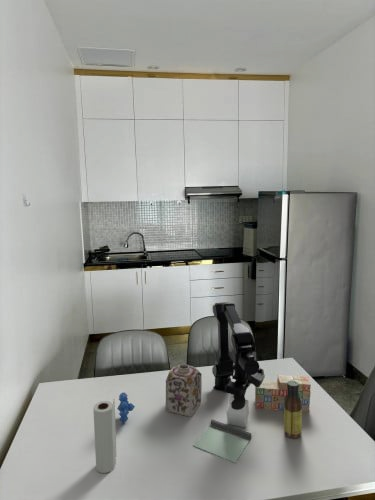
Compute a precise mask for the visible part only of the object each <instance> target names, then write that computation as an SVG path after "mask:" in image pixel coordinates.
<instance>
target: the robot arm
mask: <svg viewBox="0 0 375 500" xmlns="http://www.w3.org/2000/svg"><path fill="white" fill-rule="evenodd" d="M212 314H213V317H214V318H215V320H216V321H217V339H218V340H217V342H218V344H217V345H218V346H217V347H218V350H217V351H218V354H217V356H216V357H215V359H214V360H215V361H214V365H213V366H212V369H211V370H212V375H213V376H214V386H213V389H214V390H217V391H221V392H224V393H226V394H229V395H230V394H233V395H236V396H241V395H242V394H243V395H244V396H245V395H246V393H247V389H249V387H250V385H253V386H254V388H255V387H260V385H261V384H262V382H263V381H264V379H265V377H266V375H265V369H263V368H262V367H260V364H259V362H258V361H257V360H256V358H255V356H254V354H253V353H256V352H257V345H256V342H255V337H254V335H253V332H251V331H250V329H249V328H248V326H246V325H244V324H243V322H242V319H241V318H240V316H239V314H238V312H237V310H236V305H235V303H234V302H232V301H227V302H215V303H214V304H213V305H212ZM229 328H230V330H231V337H230V340H231V344H232V348H233V350H234V355H233V356H234V358H233V359H234V361H233V359H232V358H231V356H230V346H229V345H230V344H229V343H230V342H229V341H230V340H229ZM231 377H232V378H231ZM232 380H235V381H232ZM245 397H246V396H245Z"/></svg>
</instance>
